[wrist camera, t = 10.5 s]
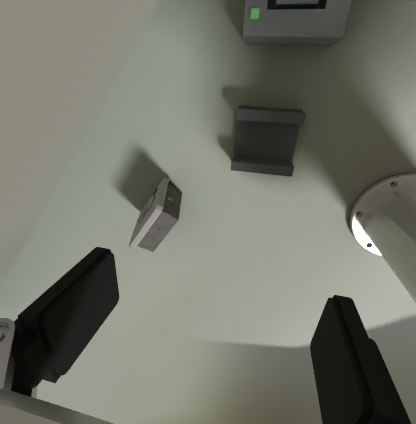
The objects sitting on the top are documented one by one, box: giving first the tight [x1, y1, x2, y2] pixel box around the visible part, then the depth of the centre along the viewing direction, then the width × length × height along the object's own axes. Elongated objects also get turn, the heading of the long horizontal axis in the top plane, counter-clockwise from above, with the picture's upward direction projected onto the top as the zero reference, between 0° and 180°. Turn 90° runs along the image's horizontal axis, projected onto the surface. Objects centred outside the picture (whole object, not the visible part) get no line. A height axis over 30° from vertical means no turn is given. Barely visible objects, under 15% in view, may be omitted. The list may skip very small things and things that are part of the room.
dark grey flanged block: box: [231, 106, 305, 177], centre depth 32 cm, size 8×8×4 cm
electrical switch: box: [129, 177, 182, 252], centre depth 38 cm, size 9×5×9 cm, turn 144°
